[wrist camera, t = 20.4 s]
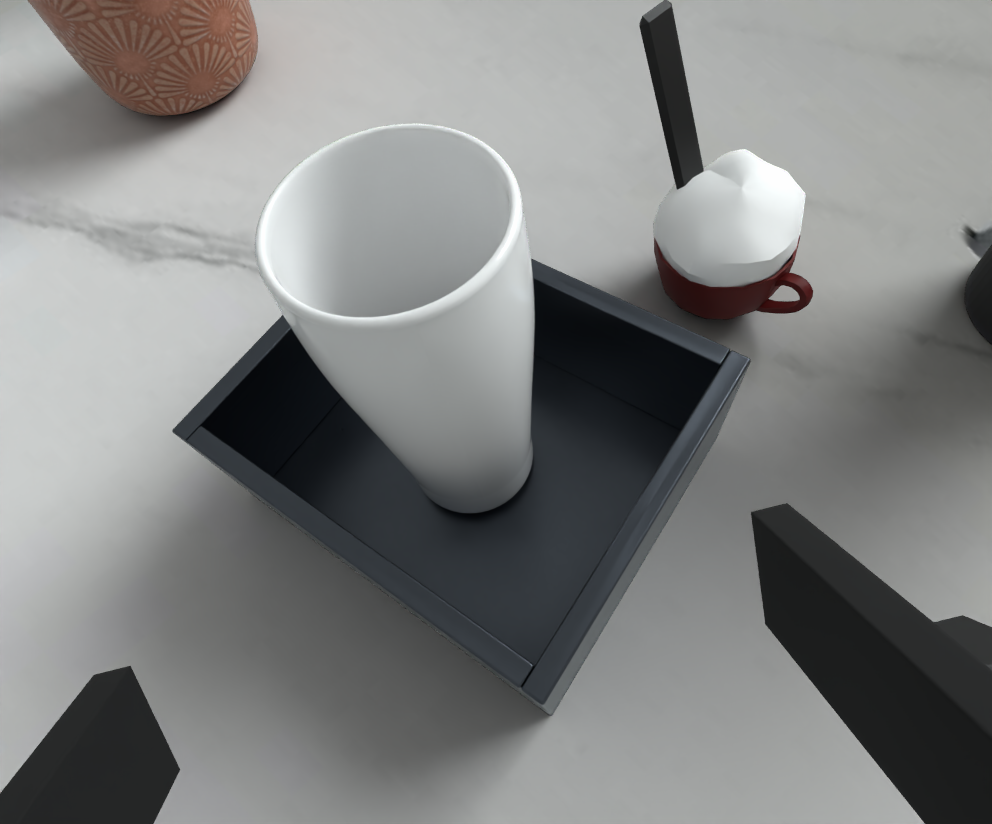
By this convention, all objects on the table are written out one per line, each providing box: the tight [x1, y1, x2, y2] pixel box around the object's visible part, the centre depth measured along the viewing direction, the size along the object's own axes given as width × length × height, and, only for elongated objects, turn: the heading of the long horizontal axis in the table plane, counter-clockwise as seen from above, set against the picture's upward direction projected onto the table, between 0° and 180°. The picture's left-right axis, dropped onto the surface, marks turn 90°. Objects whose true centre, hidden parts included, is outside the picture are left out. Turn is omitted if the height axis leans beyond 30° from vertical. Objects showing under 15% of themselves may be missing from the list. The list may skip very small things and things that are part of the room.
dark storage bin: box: [172, 259, 750, 716], centre depth 26 cm, size 17×14×7 cm
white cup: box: [255, 124, 535, 513], centre depth 22 cm, size 7×7×15 cm
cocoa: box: [640, 0, 813, 319], centre depth 27 cm, size 10×6×12 cm, turn 19°
